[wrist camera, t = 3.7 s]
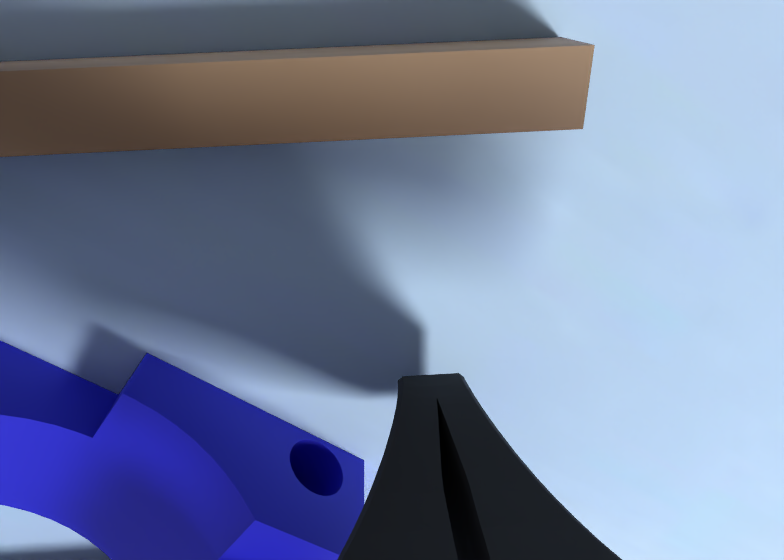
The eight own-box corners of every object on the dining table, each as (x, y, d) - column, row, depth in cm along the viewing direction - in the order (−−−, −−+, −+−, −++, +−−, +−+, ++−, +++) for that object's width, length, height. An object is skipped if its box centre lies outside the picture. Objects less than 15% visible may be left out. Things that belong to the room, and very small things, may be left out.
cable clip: (364, 455, 14) (363, 741, 9) (274, 545, 15) (227, 831, 10) (-152, 198, 10) (-738, 436, 5) (-199, 355, 11) (-674, 662, 6)
